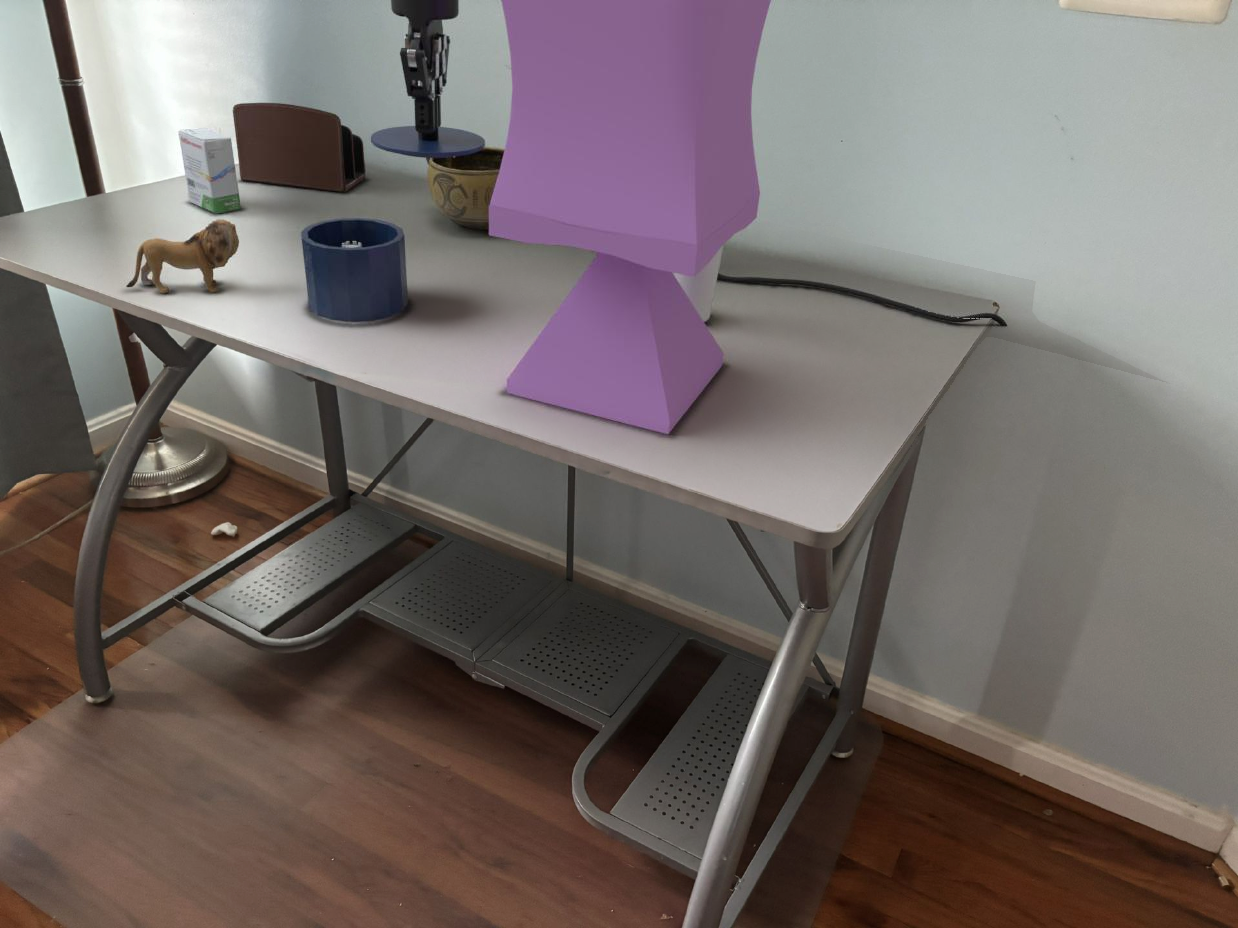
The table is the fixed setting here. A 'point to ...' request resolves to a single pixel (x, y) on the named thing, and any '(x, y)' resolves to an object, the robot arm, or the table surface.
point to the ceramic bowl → (465, 185)
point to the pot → (355, 269)
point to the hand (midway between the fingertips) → (428, 129)
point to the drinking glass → (702, 285)
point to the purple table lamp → (628, 188)
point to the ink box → (210, 170)
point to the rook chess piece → (351, 245)
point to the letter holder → (297, 147)
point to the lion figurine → (189, 254)
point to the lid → (428, 141)
